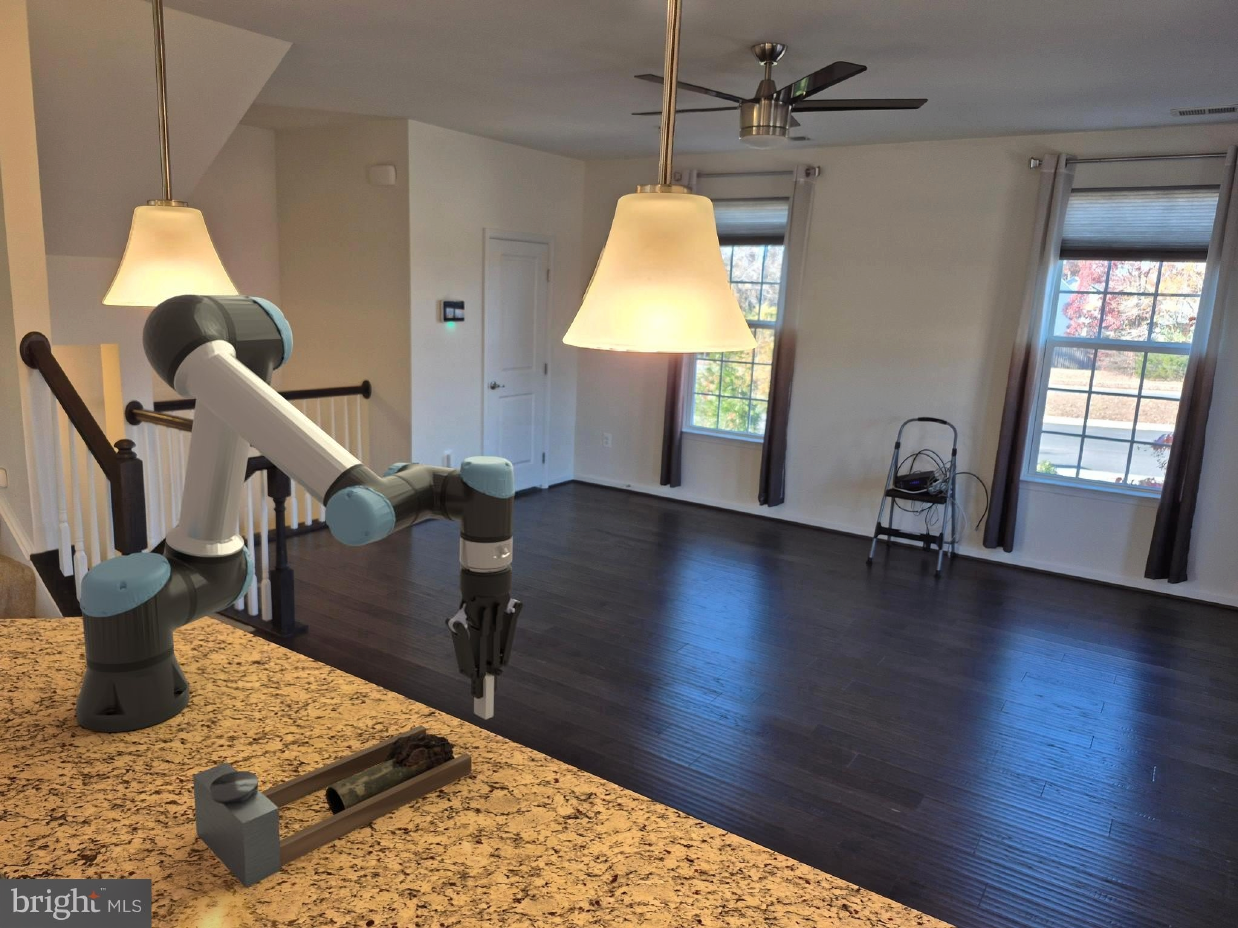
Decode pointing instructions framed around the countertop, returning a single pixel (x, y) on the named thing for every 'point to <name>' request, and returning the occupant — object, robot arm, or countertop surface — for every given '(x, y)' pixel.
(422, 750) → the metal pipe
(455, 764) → the channel rails
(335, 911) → the countertop surface
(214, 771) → the block
